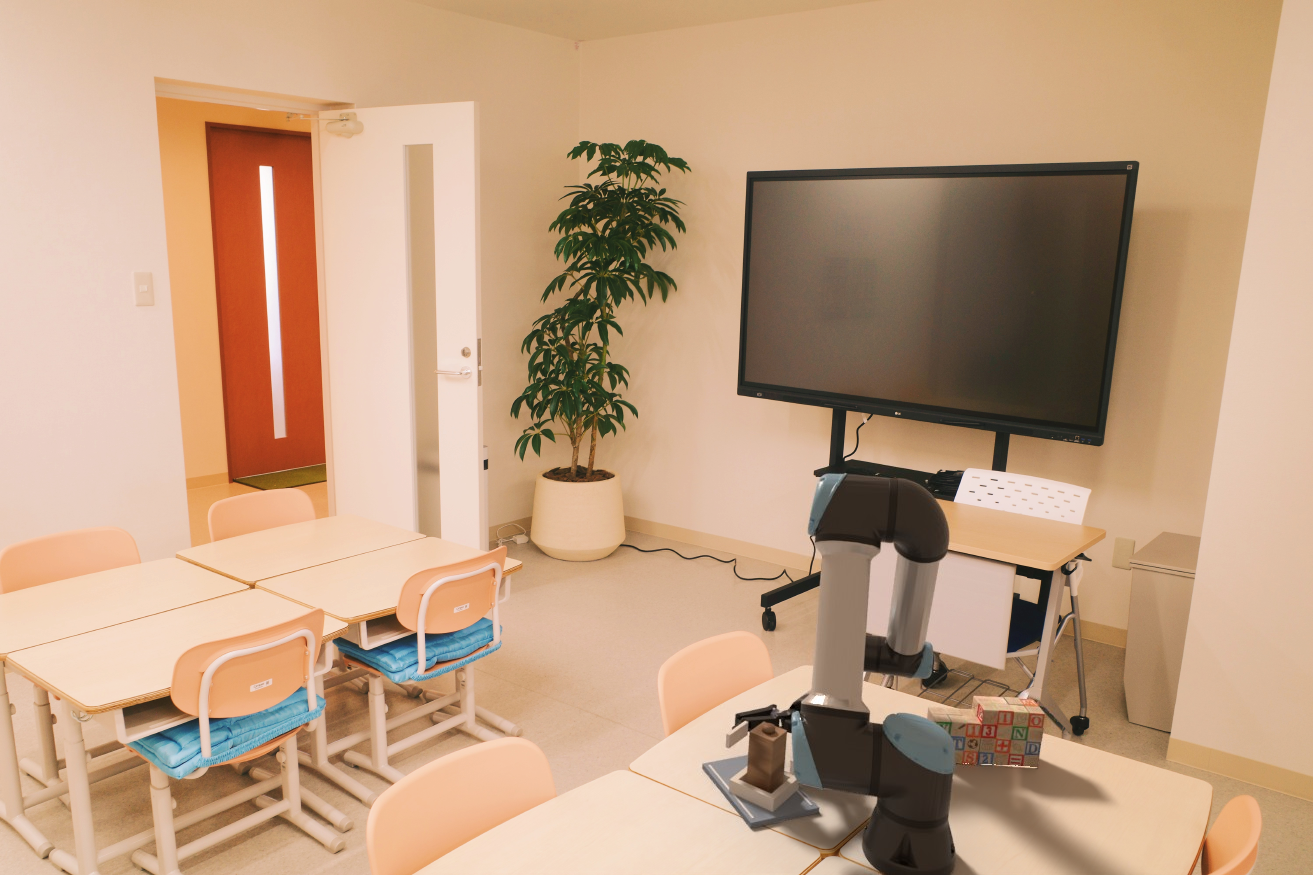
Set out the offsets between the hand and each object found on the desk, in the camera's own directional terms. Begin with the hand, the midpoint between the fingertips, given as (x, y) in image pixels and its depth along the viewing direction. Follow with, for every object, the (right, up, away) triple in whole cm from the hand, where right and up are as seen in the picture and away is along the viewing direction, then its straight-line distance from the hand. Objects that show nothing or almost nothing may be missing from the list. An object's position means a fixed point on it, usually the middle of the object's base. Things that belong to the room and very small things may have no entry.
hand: (758, 754), depth 161 cm
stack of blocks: (+48, -8, +20) cm, 52 cm away
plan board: (+1, -9, +6) cm, 10 cm away
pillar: (+1, -8, +4) cm, 9 cm away
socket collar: (+1, -9, +4) cm, 10 cm away
